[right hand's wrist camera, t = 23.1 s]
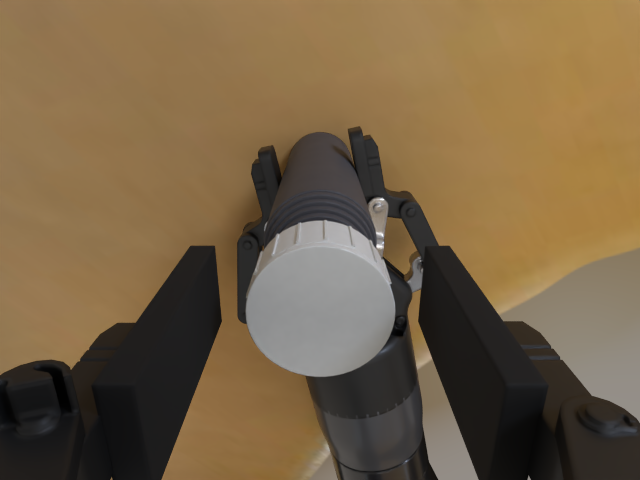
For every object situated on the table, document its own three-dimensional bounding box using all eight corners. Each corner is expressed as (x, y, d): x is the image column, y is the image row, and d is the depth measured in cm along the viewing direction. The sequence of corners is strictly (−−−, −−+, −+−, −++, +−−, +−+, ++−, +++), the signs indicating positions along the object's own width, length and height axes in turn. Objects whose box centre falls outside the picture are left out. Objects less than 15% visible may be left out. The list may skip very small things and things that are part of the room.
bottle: (351, 193, 33) (393, 361, 14) (290, 195, 33) (252, 366, 14) (351, 130, 31) (396, 228, 13) (286, 133, 31) (237, 234, 13)
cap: (414, 276, 15) (429, 309, 13) (325, 360, 16) (327, 402, 14) (314, 190, 14) (313, 212, 12) (227, 287, 15) (212, 322, 13)
